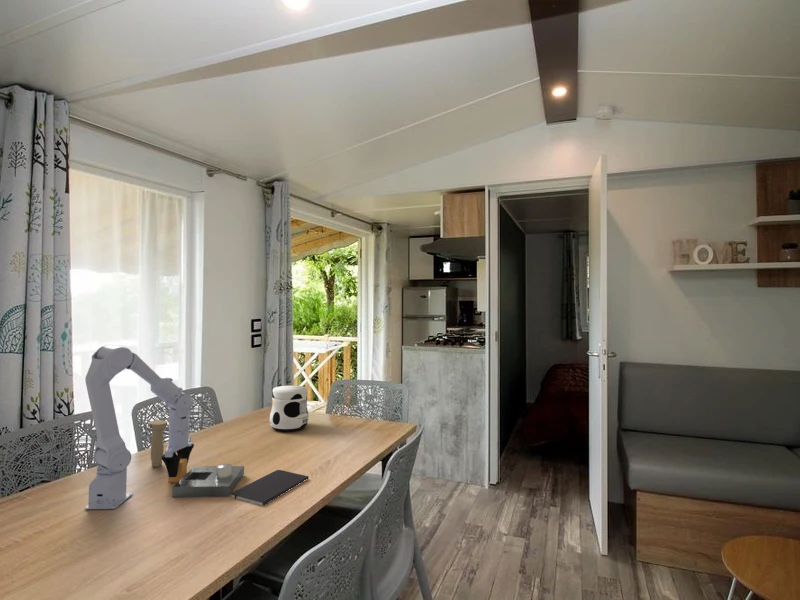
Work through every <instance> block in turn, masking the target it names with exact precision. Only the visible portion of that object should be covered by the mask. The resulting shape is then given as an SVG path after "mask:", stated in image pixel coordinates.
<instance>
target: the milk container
mask: <svg viewBox="0 0 800 600" xmlns="http://www.w3.org/2000/svg"><path fill="white" fill-rule="evenodd" d="M271 395H272V396H271V410H270V413H269V424H270V426H271V428H272V429H275V431H276V430H277V431H283V432H284V431H285V432H291V431H298V430H300V429H303V428H305V427H306V426H307V425H308V423H309V414H310V413H309V411H308V388H307V387H306V386H303V385H281V386H280V385H279V386H275V387H273V388H272V391H271Z"/></svg>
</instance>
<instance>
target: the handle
mask: <svg viewBox="0 0 800 600" xmlns="http://www.w3.org/2000/svg"><path fill="white" fill-rule="evenodd" d="M147 424H148V425H147V426H148V427H149V429H151V443H150V461H151V466H152V468H158V467H161V466H162V465H163V460H162V455H164V453H165V451H164V449H165V448H164V428H166V427H167V426H168V421H167V420H163V419H156V420H151V421H148V423H147Z"/></svg>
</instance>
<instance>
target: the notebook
mask: <svg viewBox="0 0 800 600" xmlns="http://www.w3.org/2000/svg"><path fill="white" fill-rule="evenodd" d="M308 478H309V475H305V474H301V473H295V472H292V471H286V470H281V469H276V470H274V471H271V472H270V473H268V474H266V475H264V476H262V477H260V478H258V479H255V480H254V481H252V482H250V483H248V484H246V485H244V486H242V487H239V488H238V489H236V490H233V491H232V493H231V494H230V495H231V498H234V499H235V500H239V501H244V502H247V501H249V502H248V503H251V502H252V504H255V503H256V504H255V505H258V504H260V505H259V506H262V505H264V506H266V505H268V504H269V503H270V502H269V501H271V500H273V499H274V500H276V499H278V498H279V497H281V496H282V495H281V494H283V493H285V492H286V491H288V490H289V489H291V488H293V487H294V486H296V485H298V484H299V483H301V482H303V481H304V480H306V479H308ZM303 483H304V482H303ZM298 486H299V485H298ZM293 489H294V488H293ZM291 490H292V489H291ZM288 492H289V491H288ZM286 493H287V492H286ZM286 493H285V494H286ZM280 495H281V496H280ZM283 495H284V494H283ZM278 496H279V497H278ZM277 497H278V498H277ZM236 498H237V499H236ZM275 498H276V499H275ZM274 500H273V501H274ZM268 502H269V503H268ZM271 502H272V501H271ZM265 504H266V505H265Z"/></svg>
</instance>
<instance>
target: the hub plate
mask: <svg viewBox="0 0 800 600" xmlns="http://www.w3.org/2000/svg"><path fill="white" fill-rule="evenodd" d="M243 475H244V476H245V466H244V465H232V464H231V463H220V464H218V465H217V466H215V465H211V466H210V465H208V466H206V465H205V466H204V465H203V466H202V465H201V466H193V467H192V468H191V469H190V470H189V471H187V474H186V475H185V476H184V477H183V478H182V479H180V480H179V481H178V482H175V484H174V485H173V486H172V495H171V496H172V498H203V497H204V498H206V497H207V498H213V497H215V498H216V497H217V498H218V497H219V498H220V497H230V495H231V493H232V492H234V491H235V488H236V487H237V486H238V484H239V483H240V482H241V480H242V479H243V477H244V476H243ZM241 478H242V479H241ZM236 485H237V486H236Z"/></svg>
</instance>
